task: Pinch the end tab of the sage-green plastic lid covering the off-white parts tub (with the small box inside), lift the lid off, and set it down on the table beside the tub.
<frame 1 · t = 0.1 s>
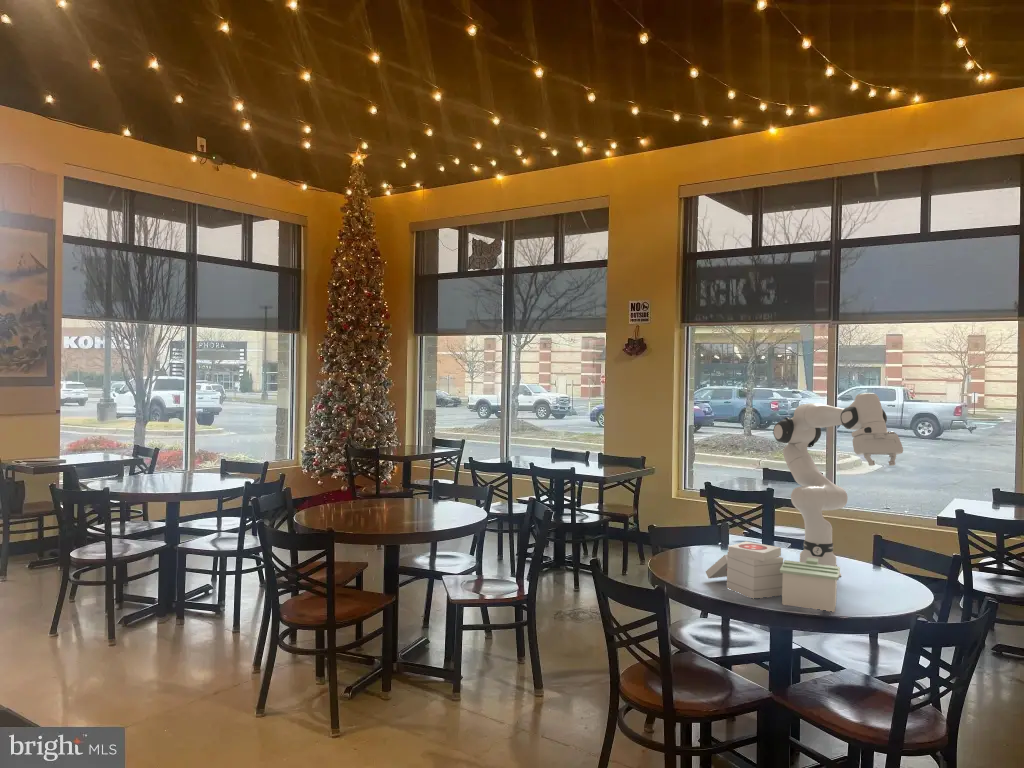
hand: (882, 465, 277), 52 cm above the table, tool tilted 20°, fingers open, 8 cm apart
pizza boxes: (743, 589, 286), on the table
small box: (809, 603, 268), resting in tub
tub: (809, 602, 268), on the table
lid: (810, 571, 268), point 12 cm above the table, touching tub
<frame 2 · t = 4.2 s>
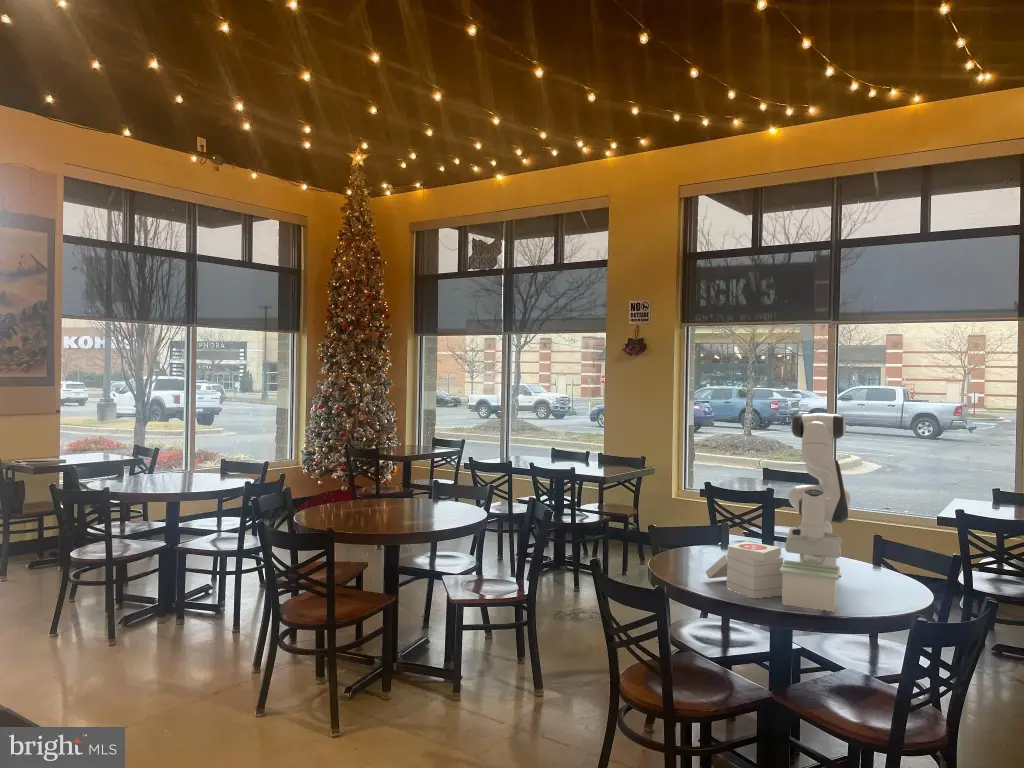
hand: (812, 566, 280), 11 cm above the table, tool pointing down, fingers closed on lid, 4 cm apart
lid: (810, 571, 268), point 12 cm above the table, touching gripper, tub
everything else where it was.
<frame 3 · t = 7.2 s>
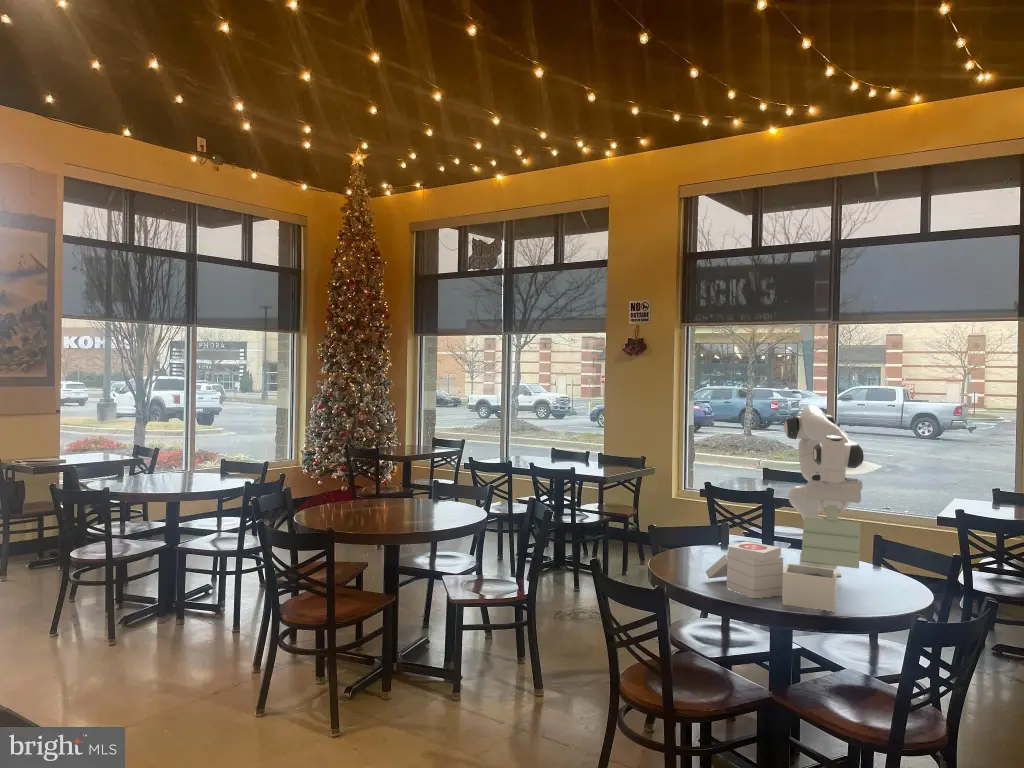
hand: (832, 512, 278), 33 cm above the table, tool pointing down, fingers closed on lid, 4 cm apart
lid: (830, 542, 272), point 22 cm above the table, tilted 59°, touching gripper
everything else where it was.
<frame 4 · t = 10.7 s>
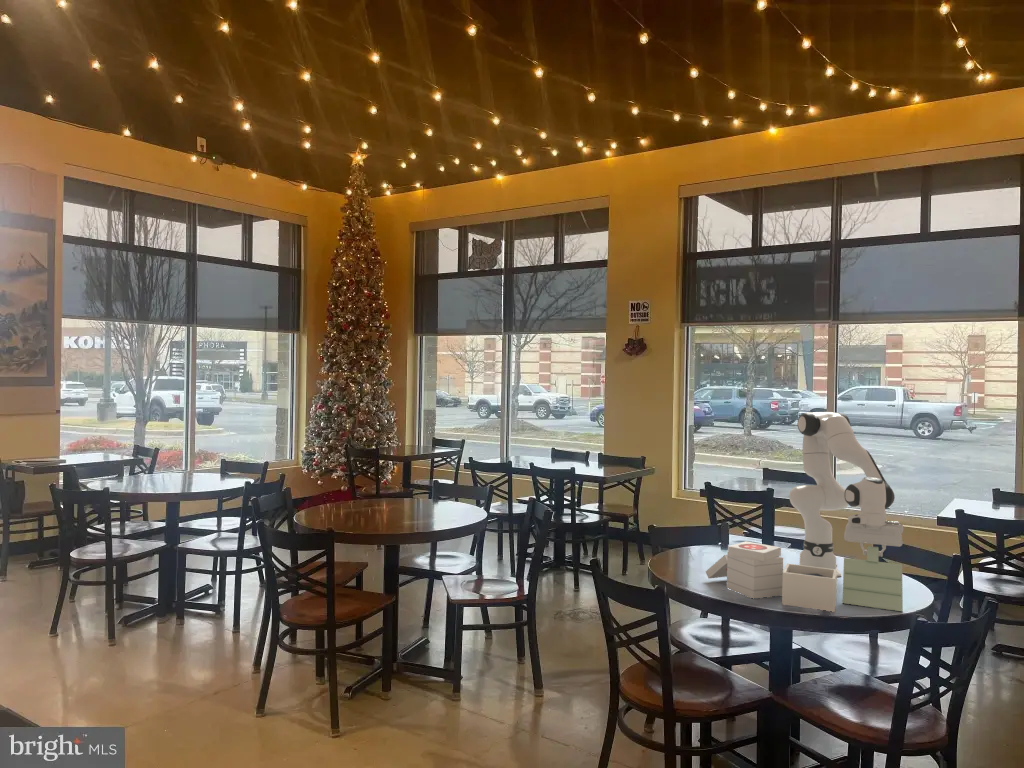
hand: (872, 555, 274), 17 cm above the table, tool pointing down, fingers closed on lid, 4 cm apart
lid: (872, 584, 268), point 7 cm above the table, tilted 57°, touching gripper
everything else where it was.
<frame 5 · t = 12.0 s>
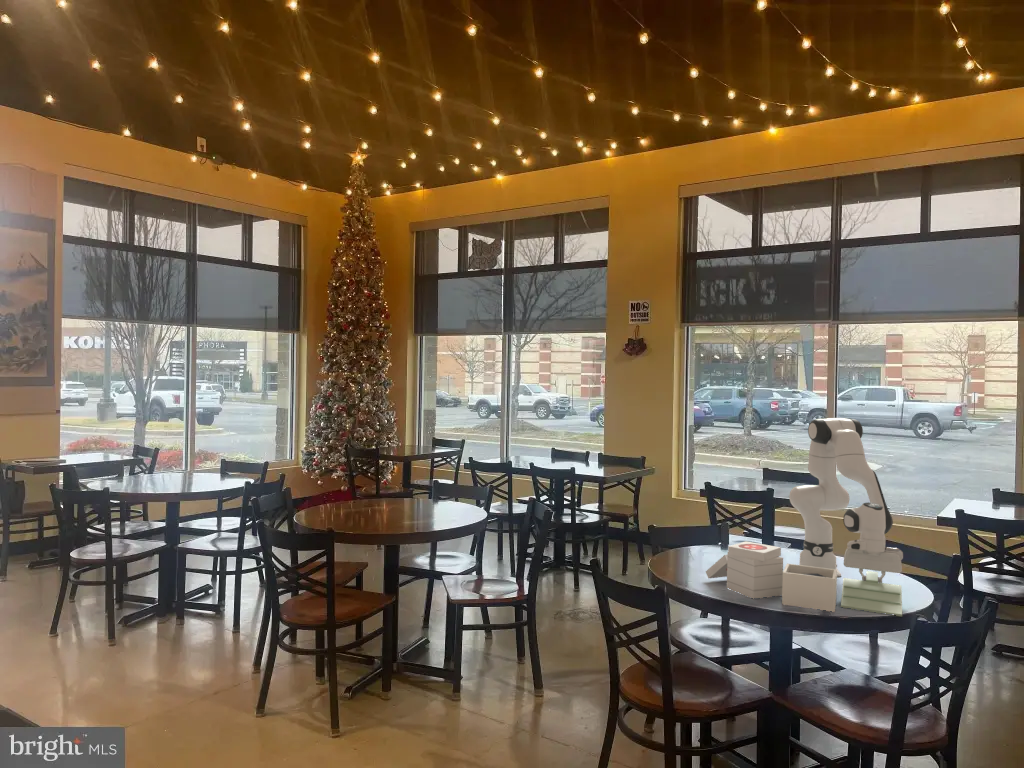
hand: (871, 581, 274), 7 cm above the table, tool pointing down, fingers closed on lid, 4 cm apart
lid: (871, 597, 266), point 3 cm above the table, tilted 21°, touching gripper
everything else where it was.
when the fingers open (4 cm above the table, at t = 13.2 s): lid drops 1 cm, point 1 cm above the table.
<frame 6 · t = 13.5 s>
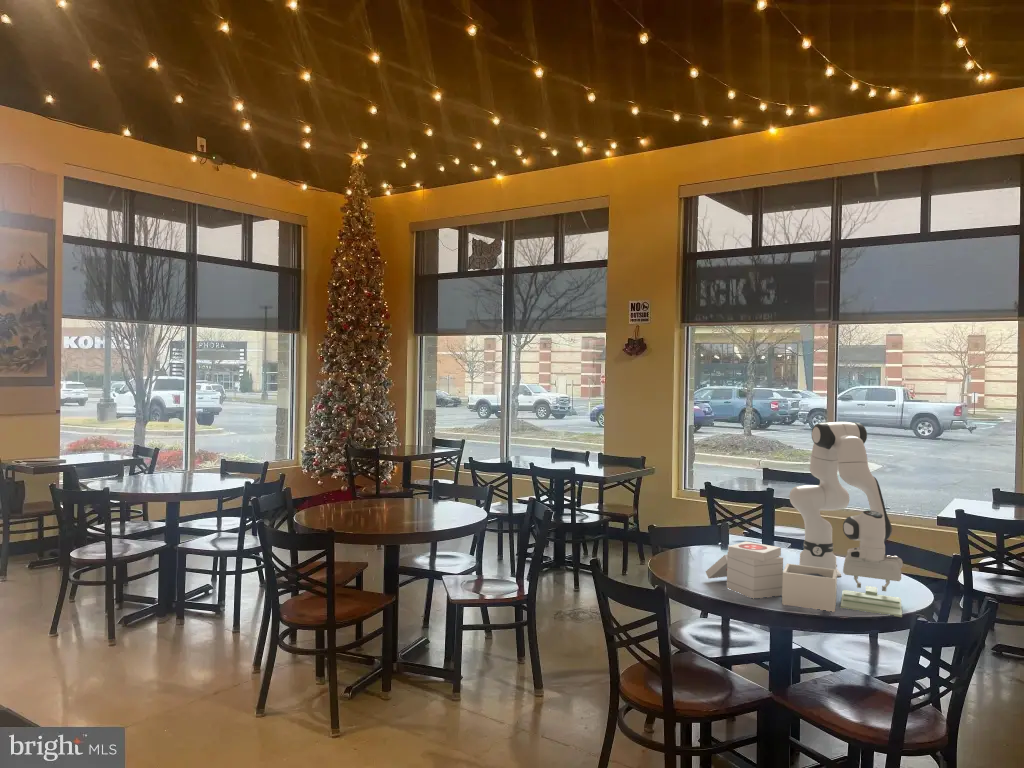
hand: (871, 589, 274), 4 cm above the table, tool pointing down, fingers open, 7 cm apart
lid: (871, 604, 266), point 1 cm above the table, tilted 5°
everything else where it was.
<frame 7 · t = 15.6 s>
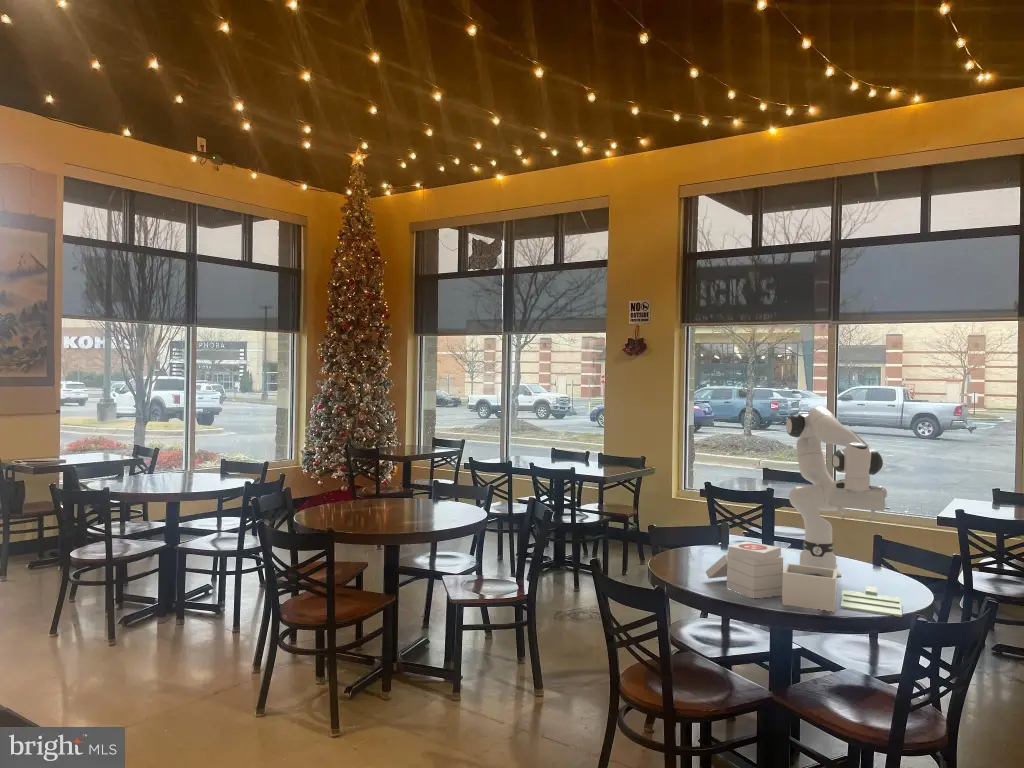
hand: (855, 519, 277), 30 cm above the table, tool pointing down, fingers open, 8 cm apart
nothing on the table moved.
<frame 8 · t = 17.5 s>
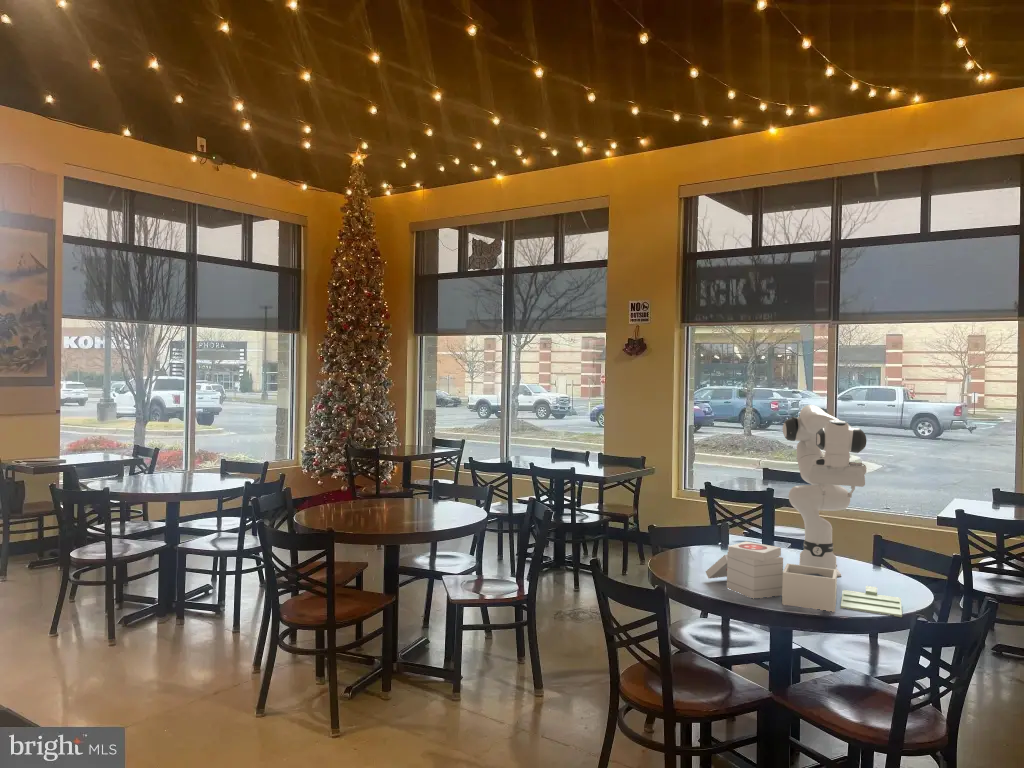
hand: (836, 496, 279), 39 cm above the table, tool pointing down, fingers open, 8 cm apart
nothing on the table moved.
at the end: lid inside the target area (1.7 cm from its centre), point 0.7 cm above the table; the gripper is holding nothing; lid moved 24.9 cm from its start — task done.
